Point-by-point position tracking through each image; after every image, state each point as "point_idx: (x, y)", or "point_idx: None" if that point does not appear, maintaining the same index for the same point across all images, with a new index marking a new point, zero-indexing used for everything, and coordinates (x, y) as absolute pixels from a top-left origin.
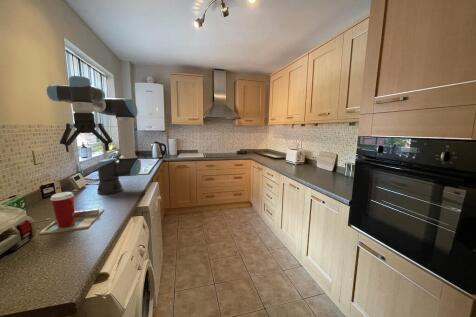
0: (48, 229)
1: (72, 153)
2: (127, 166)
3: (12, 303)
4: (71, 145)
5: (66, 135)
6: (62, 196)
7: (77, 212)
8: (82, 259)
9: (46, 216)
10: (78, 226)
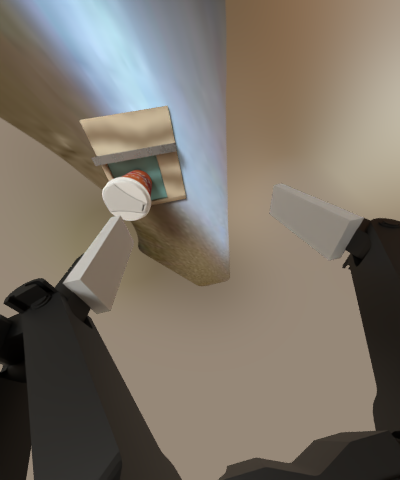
0: None
1: (119, 249)
2: None
3: (198, 283)
4: (97, 294)
5: (25, 463)
6: (142, 216)
7: (138, 157)
8: (216, 253)
9: (39, 123)
10: (170, 196)
